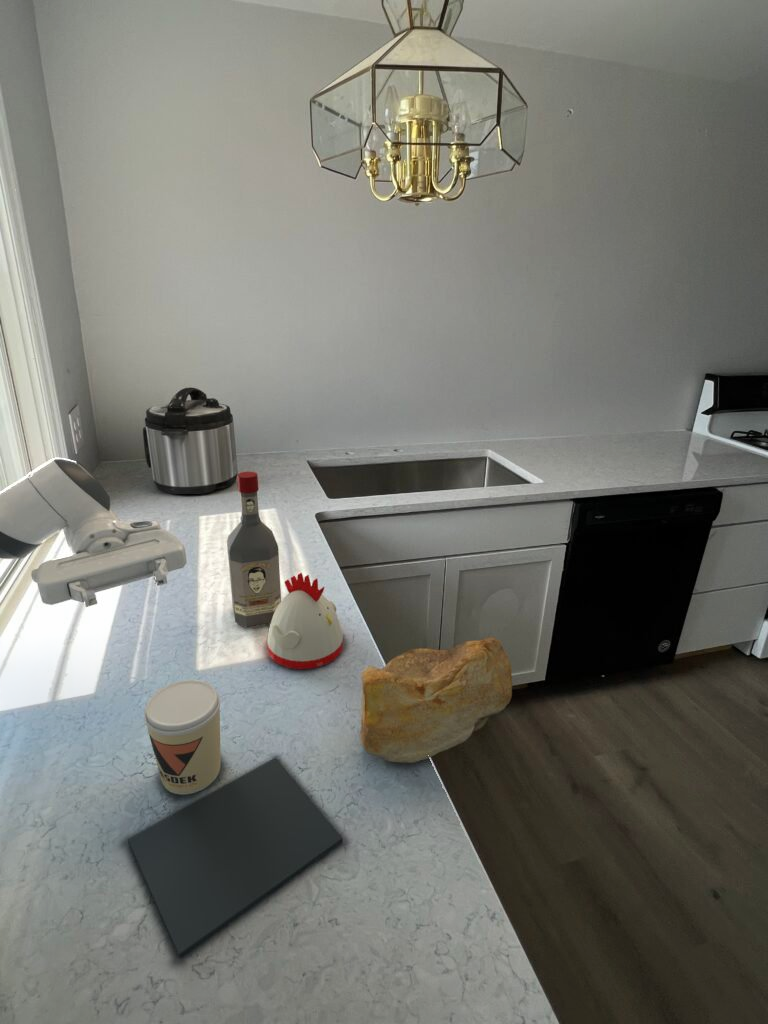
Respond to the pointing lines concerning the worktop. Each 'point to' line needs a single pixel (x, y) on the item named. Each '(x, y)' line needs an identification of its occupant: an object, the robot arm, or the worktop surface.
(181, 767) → the coffee cup
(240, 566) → the liquor
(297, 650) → the kitchen timer
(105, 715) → the worktop surface
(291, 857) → the slate mat
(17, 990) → the worktop surface
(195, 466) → the pressure cooker
